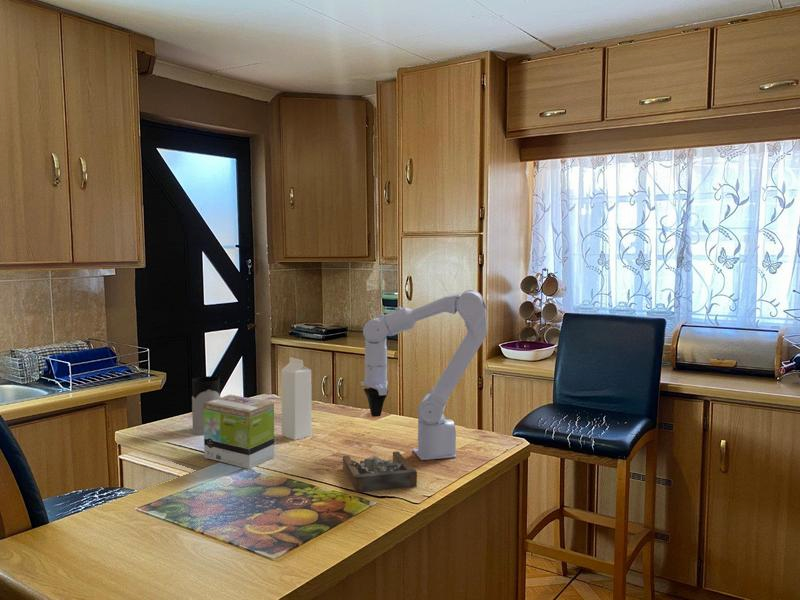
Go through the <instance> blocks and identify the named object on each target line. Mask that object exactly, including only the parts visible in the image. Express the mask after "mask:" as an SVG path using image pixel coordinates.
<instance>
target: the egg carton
mask: <svg viewBox="0 0 800 600" xmlns="http://www.w3.org/2000/svg"><path fill="white" fill-rule="evenodd" d="M351 460H352V461H351V462H353V463H354V465H355V467H356V468H357V470H358V472H359V474H369V473H380V472H391V471H399V468H400V466H401V464H402V463H400V464H398V463H394V462H393V461H391V460H386V459H381V458H380V457H378V456H374V455H373V456H370V457H368V458H364V460H363V459H362V460H360V461H356V460H354V459H351ZM372 469H373V470H372Z"/></svg>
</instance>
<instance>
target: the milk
mask: <svg viewBox="0 0 800 600" xmlns="http://www.w3.org/2000/svg"><path fill="white" fill-rule="evenodd" d="M280 374H281V381H280V382H281V383H280V384H281V385H280V387H281V436H282V437H284V436H285V438H287V439H290V440H293V441H297V439H298V440H301V439H305V438H308V437H311V436H313V435H312V369H310V368H308V367H306V366H305V365H304V360H303V359H299V358H295V357H289V363H287V364H286V365H285V366H284V367H283V368H282V369H281V373H280ZM310 435H311V436H310ZM307 436H308V437H307ZM304 437H305V438H304Z"/></svg>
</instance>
